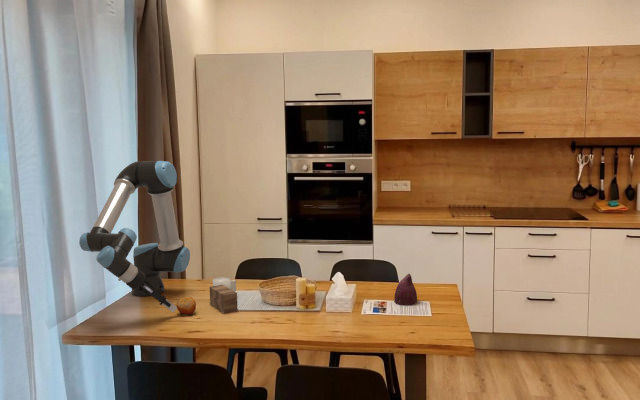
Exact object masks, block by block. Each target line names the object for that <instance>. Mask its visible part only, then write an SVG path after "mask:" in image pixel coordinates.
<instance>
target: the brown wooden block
mask: <svg viewBox="0 0 640 400" xmlns="http://www.w3.org/2000/svg"><path fill="white" fill-rule="evenodd" d="M209 302H210V303H209V304H210V305H211V306H212V307H213V308H215V309H217V310H218V311H219V312H221V313H223V314H231V313H235V312H238V309H239V308H238V293H237V291H233V290H231V289H229V288H227V287H225V286H224V285H217V286H213V285H211V286H209Z"/></svg>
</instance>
